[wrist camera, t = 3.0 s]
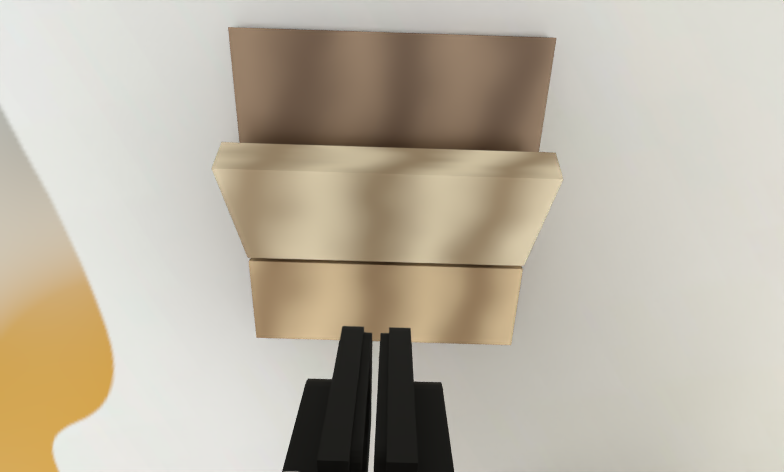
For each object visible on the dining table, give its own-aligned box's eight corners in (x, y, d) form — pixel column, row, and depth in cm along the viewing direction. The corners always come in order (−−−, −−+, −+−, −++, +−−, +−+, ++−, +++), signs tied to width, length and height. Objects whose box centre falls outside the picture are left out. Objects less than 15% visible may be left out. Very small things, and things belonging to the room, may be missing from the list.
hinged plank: (555, 152, 24) (563, 179, 23) (519, 241, 31) (523, 265, 30) (221, 142, 24) (211, 168, 23) (254, 233, 31) (247, 257, 29)
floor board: (548, 38, 28) (568, 36, 24) (504, 328, 36) (515, 356, 32) (236, 28, 28) (215, 25, 24) (263, 321, 36) (250, 348, 32)
